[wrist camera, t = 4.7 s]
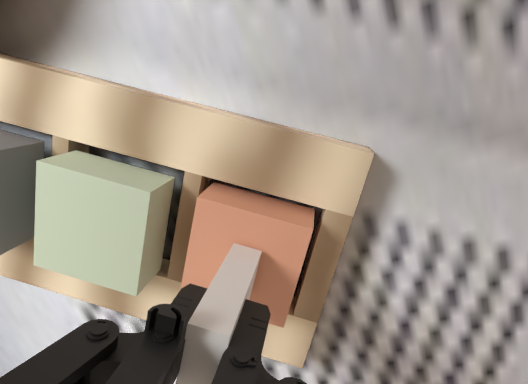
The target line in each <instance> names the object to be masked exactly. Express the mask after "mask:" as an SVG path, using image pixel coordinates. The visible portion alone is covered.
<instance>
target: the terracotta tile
mask: <svg viewBox="0 0 528 384" xmlns="http://www.w3.org/2000/svg"><path fill="white" fill-rule="evenodd" d="M314 210H315V209H312V208H308V207H305V206H301V205H297V204H294V203H290V202H286V201H283V200H279V199H275V198H272V197H268V196H264V195H261V194H257V193H253V192H250V191H246V190H242V189H238V188H235V187H231V186H227V185H224V184H220V183H216V182H214V183H212V184H211V185H210V186H209V187H208V188H207V189H206V190H205V191H203V192H202V193H201V194H200V195H199V196H198V197H197V201H196V206H195V212H194V217H193V223H192V228H191V234H190V239H189V245H188V250H187V256H186V261H185V267H184V272H183V278H182V283H181V288H183V287H185V286H187V285H188V284H190V283H191V284H194V285H197V286H201V287H204V288H207V289H208V287H209V285H210V284H211V282H212V280H213V278H214V277H215V275H216V273H217V271H218V270H219V268H220V266H221V264H222V263H223V261H224V259H225V258H226V256H227V254H228V252H229V251H230V249H231V247H232V245H233V244H234V243H236V244H239V245H243V246H246V247H250V248H253V249H257V250H260V251H262V253H261V257H260V261H259V265H258V269H257V273H256V277H255V280H254V284H253V288H252V292H251V296H250V299H249V300H250V301H254V302H257V303H260V304H264V305H267V306H268V308H269V311H270V314H271V315H270V320H269V324H272V325H275V326H279V327H282V328H284V325H285V322H286V319H287V315H288V312H289V309H290V305H291V302H292V299H293V295H294V292H295V289H296V285H297V282H298V279H299V275H300V272H301V269H302V266H303V262H304V259H305V256H306V252H307V249H308V246H309V242H310V239H311V236H312V232H313V228H314ZM180 290H181V289H180Z"/></svg>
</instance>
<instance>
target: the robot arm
mask: <svg viewBox="0 0 528 384" xmlns="http://www.w3.org/2000/svg"><path fill="white" fill-rule="evenodd" d="M261 253H262V251H260V250H257V249H253V248H250V247H246V246H243V245H239V244H236V243H234V244H233V245H232V247H231V249H230V251H229V252H228V254H227V256H226V258H225V259H224V261H223V263H222V264H221V266H220V268H219V270H218V271H217V273H216V275H215V277H214V278H213V280H212V282H211V284H210V285H209V287H208V289H207V288H204V287H201V286H197V285H194V284H191V283H190V284H188V285H187V286H185V287H183V288H181V290H180V291H179V293H178V294H177V295H176V297H175V298H174V300H173V301H172V303H171V304H158V305H156V306H153V307H151V308H150V309H149V310H148V313H147V320H146V326H145V330H144V332H140V333H119V328H118V326H117V325H116V324H115V323H114V322H112V321H109V320H106V319H97V320H91V321H89V322H87V323H84V324H83V325H81V326H80V327H78V328H76V329H75V330H73V331H72V332H70V333H69V334H67V335H66V336H64V337H62V338H61V339H59V340H58V341H56V342H55V343H53V344H52V345H50V346H49V347H47V348H45V349H44V350H42V351H41V352H39V353H38V354H36V355H35V356H33V357H32V358H30V359H28V360H27V361H25V362H24V363H22V364H21V365H19V366H18V367H16V368H15V369H13V370H11V371H10V372H8V373H7V374H5V375H4V376H2V377H1V378H0V384H173V383H174V381H175V379H176V377H177V380H176V384H307V383H305V382H303V381H302V380H300V379H297V378H293V377H287V378H284V379H282V380H280V381H279V380H277V379H276V378H274V377H273V376H271V375H270V374H269V373H268V372H267V371H266V370H265V369H264V367H263V365H262V362H261V355H262V350H263V346H264V341H265V337H266V333H267V328H268V324H269V320H270V315H271V314H270V311H269V308H268V306H267V305H264V304H260V303H257V302H254V301H250V300H249V299H250V296H251V292H252V288H253V284H254V280H255V277H256V273H257V269H258V265H259V261H260V257H261Z"/></svg>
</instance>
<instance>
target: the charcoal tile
mask: <svg viewBox="0 0 528 384" xmlns="http://www.w3.org/2000/svg"><path fill="white" fill-rule="evenodd" d="M40 159H44V141H41V140H37V139H33V138H30V137H26V136H22V135H19V134H15V133H11V132H8V131H4V130H0V255H2V254H3V253H5V252H7V251H9V250H11V249H13V248H15V247H17V246H19V245H21V244H23V243H24V242H26V241H28V240H30V239H32V238H34V227H35V192H36V160H40Z"/></svg>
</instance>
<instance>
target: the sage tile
mask: <svg viewBox="0 0 528 384" xmlns="http://www.w3.org/2000/svg"><path fill="white" fill-rule="evenodd" d="M174 180H175V177H172V176H169V175H165V174H161V173H158V172H154V171H150V170H147V169H143V168H139V167H136V166H132V165H128V164H125V163H121V162H117V161H114V160H110V159H106V158H103V157H99V156H95V155H92V154H88V153H85V152H81V151H77V150H75V151H71V152H67V153H64V154H60V155H56V156H52V157H48V158H44V159H40V160H36V192H35V227H34V262H33V265H34V266H37V267H41V268H44V269H47V270H51V271H54V272H57V273H60V274H64V275H67V276H70V277H74V278H77V279H80V280H83V281H87V282H90V283H93V284H97V285H100V286H103V287H107V288H110V289H113V290H116V291H120V292H123V293H126V294H130V295H133V296H137V295H138V294H139V293H140V292H141V291H142V290H143V288H144V287H145V286H146V285H147V284H148V283H149V282H150V280H151V279H152V278H153V277H154V276H155V275H156V274H157V273H158V271H159V270H160V269H161V263H162V257H163V250H164V244H165V238H166V231H167V225H168V218H169V212H170V206H171V199H172V193H173V187H174Z"/></svg>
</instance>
